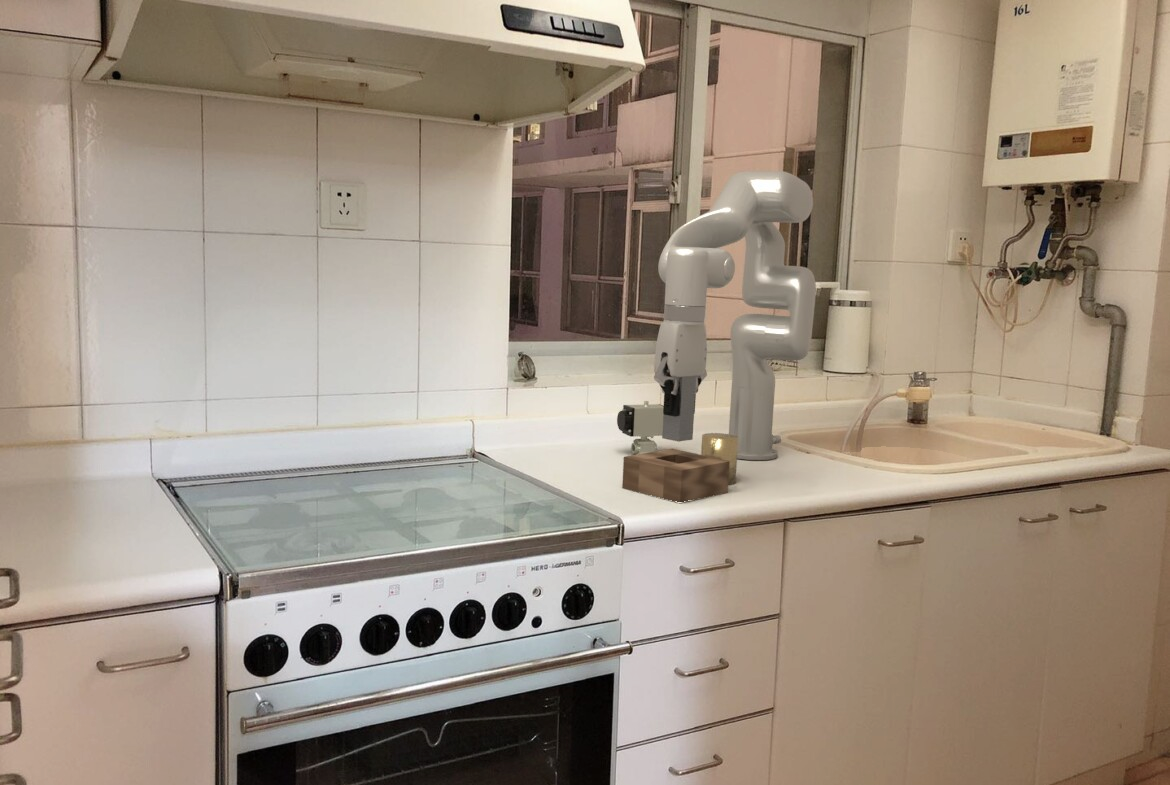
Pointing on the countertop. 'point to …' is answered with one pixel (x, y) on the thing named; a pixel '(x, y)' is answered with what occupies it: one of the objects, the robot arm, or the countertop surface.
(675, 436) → the square bit
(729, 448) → the round bit
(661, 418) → the pneumatic valve
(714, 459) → the bore block
